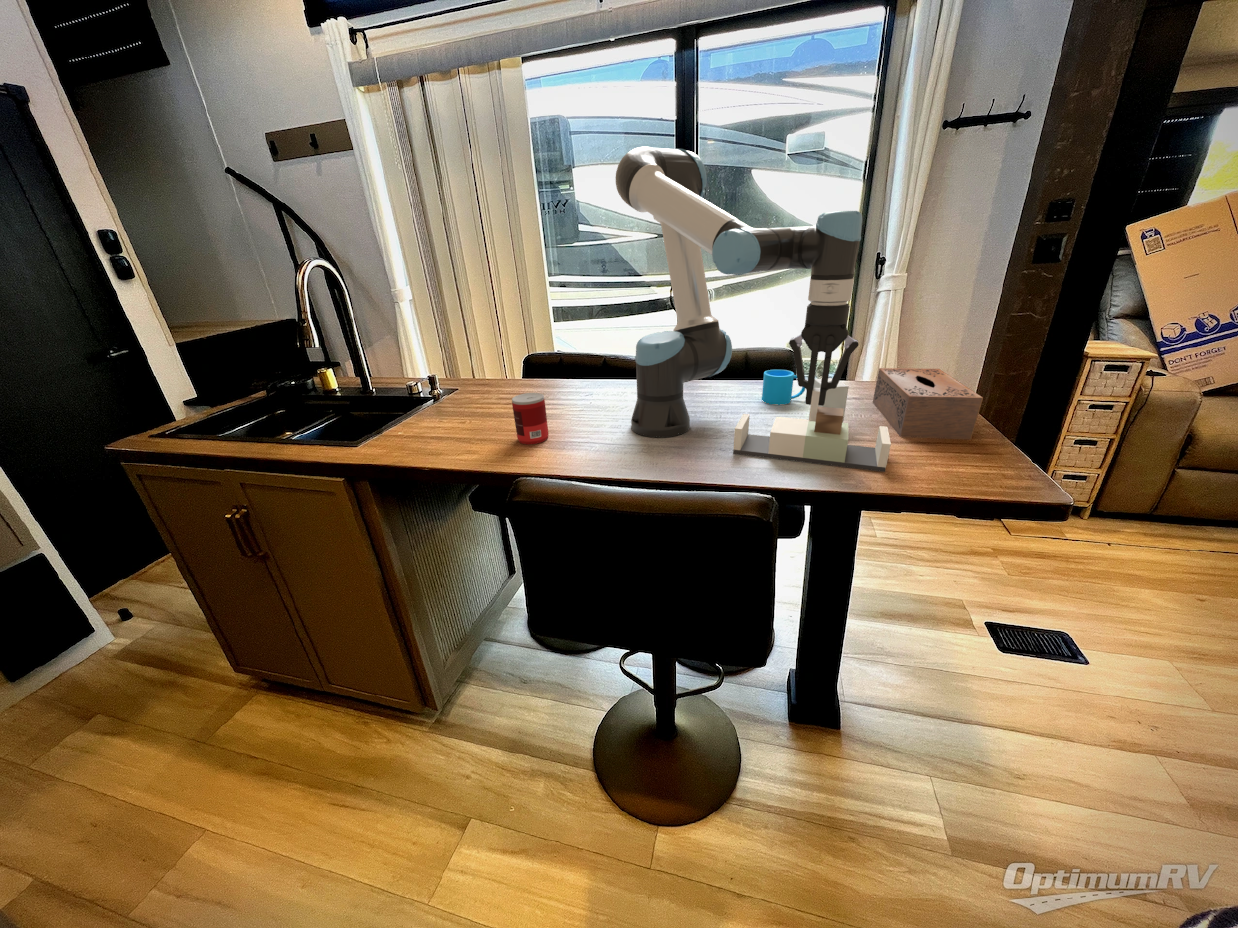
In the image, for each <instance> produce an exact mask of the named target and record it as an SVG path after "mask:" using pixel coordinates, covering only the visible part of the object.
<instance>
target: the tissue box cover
mask: <svg viewBox="0 0 1238 928" xmlns="http://www.w3.org/2000/svg"><path fill="white" fill-rule="evenodd" d="M983 399H984V397H983V396H981V395H980V394H978V393H977V392H975V391H974V390H972V389H970V388H969V387H968V386H966V385H964V384H963V383H962V382H960V381H959V380H957V379H955V378H954V377H952V376H951V375H949V374H947V373H946V372H945V371H944V370H941V369H940V368H914V367H913V368H911V367H910V368H908V367H907V368H905V367H903V368H896V367H895V368H893V367H892V368H891V367H890V368H889V367H886V368H885V367H884V368H883V367H881V368H878V373H877V379H876V382H875V388H874V393H873V399H872V404H873V405H874V406H875V407H876V408H877V410H878V411H879V412H880V414H881V415H882V416H883V417H884V419H885V420H886V421H887V423H889V425H890V427H892V428H893V430H894V431H895V433H896V434H897V435H898V436H899V437H901V438H918V439H919V438H920V439H921V438H923V439H924V438H925V439H948V440H949V439H950V440H972V437H973V433H974V431H975V427H976V424H977V420H978V416H979V413H980V410H981V406H982V405H983V404H982V403H983Z"/></svg>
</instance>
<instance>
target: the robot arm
mask: <svg viewBox="0 0 1238 928" xmlns="http://www.w3.org/2000/svg"><path fill="white" fill-rule="evenodd" d="M707 178H708V177H707V171H706V167H705V164H704V162H703V160H702V158H700V156H699V155H698V154H696V153H695V152H693V151H690V150H686V149H684V148H665V147H664V148H661V147H651V146H639V147H635V148H633V149H632V150H629V151H628V152H626V154H625V155H624V156H622V158H621V160H620V161H619V162H618V165H617V168H616V171H615V186H616V190H617V191H616V192H618V194H619V197H621V199H622V201H624V203H625V204H627V205H628V206H629V207H631V208H632V209H634V210H635V211H636V212H640V213H649V214H650V215H651V216H653V219H654V220H655V221H656V222H658V223H659V224H660V225H661V231H662V237H663V243H664V249H665V255H666V256H665V257H666V261H667V262H666V263H667V267H668V273H669V279H670V284H671V289H672V290H671V291H672V295H673V302H674V307H675V312H676V318H677V323H676V325H675V326H674V328H673V330H666V331H665V330H664V331H661V332H659V331H658V332H653V333H650V334H647V335H645V336H643V337H641V338H639V340H638V341H637V342H636V344H635V345H636V346H635V356H634V360H635V369H636V371H635V372H636V402H635V405H634V408H633V412H632V416H631V419H630V423H631V424H630V427H631V430H632V431H633V433H635V434H637V435H640V436H643V437H650V438H669V437H676V436H679V435H682V434H684V433H686V432H688V430H690V427H691V426H690V425H691V420H690V419H691V417H690V415H689V412H688V408H687V405H686V403H685V402H686V401H685V399H684V383H689V382H693V381H696V380H700V379H703V378H711V377H713V376H715V375H718V374H719V373H721V372H722V371H724V370H725V369H727V366H728V365H729V363H730V361H731V359H732V353H733V345H732V340H731V337H730V336H729V335H728V334H727V332H726V331H725V330H724V329H721V328H720V323H719V319H717V318H715V317H714V316H713V315H712V312H711V311H712V310H711V307H710V300H709V299H710V298H709V292H708V286H707V279H706V272H705V267H704V261H703V260H704V259H703V253H702V250H703V251H705V252H707V253H708V254H710V255H711V256H712V261H713V263H714V265H715V267H716V270H718V271H719V272H720V273H721V274H724V275H733V276H741V275H746V274H753V273H759V272H769V271H780V270H793V269H794V270H795V269H796V270H797V269H798V270H802V269H803V270H811V271H810V278H809V279H810V281H809V289H808V297H807V300H808V301H809V302H810V303H808V305H807V306H806V307H807V308H806V313H805V322H804V328H802V330H801V333H800V334H799V335H797V336H795V337H791V338H790V340H789V342H788V344H789V347H790V348H791V350H792V352H793V358H794V364H795V373H796V376H797V386H798V387H800V388H802V387H804V388H805V392H806V394H805V401H804V403H805V405H809V406H810V408H809V416H808V420H809V421H814V422H816V415H817V410H818V405H820V406H823V405H824V404H825V397H826V392H827V390H829V389H835V388H836V387H837V385H838V383H839V381H841V378H842V375H843V373H844V371H845V368H846V367H847V365H848V362H849V360H850V357H851V355H852V354H853V353H854V351H855V350H857V348H858V347H859V344H860V343H859V340H858V339H855V338H853V337H851V336H850V335H849V330H848V328H847V326H848V320H849V312H850V304H849V303H848V302H849V301H851V300H852V294H853V293H852V292H853V287H854V282H855V281H854V280H855V271H856V266H857V260H858V253H859V246H860V242H861V240H862V236H861V235H862V227H863V215H862V213H861V212H860V211H859V210H843V211H842V210H841V211H838V210H837V211H829V212H821V213H820V214H819V215H818V217H817V219H816V220H817V222H816V223H815V224H814V225H810V226H806V225H805V226H790V227H789V226H788V227H787V226H780V227H769V228H768V227H761V228H758V227H757V228H756V227H752V226H750V225H748V224H746V223H745V222H744V221H741V220H740V219H738V218H737V217H735V216H733V215H731V214H730V213H729V212H727V211H725V210H724V209H721V208H720V207H719V206H716V205H715V204H713V203H712V202H710V201H708V200H706V199H704V194H705V192H706V190H705V189H706V187H707V182H708V180H707ZM803 341H804V343H805V344H806V347H808V348H807V349H808V350H810V362H809V369H808V376H807V379H806V378H805V369H804V361H803V355H802V354H803V353H802V348H801V347H802V346H803ZM843 342H844V351H843V353H842V355H841V358H840V360H839V362H838V364H837V367H836V369H835V372H834V373H833V376H832V377H831V378H832V381H830V382H828V379H829V378H830V368H831V363H832V355H833V352H834V351H835V350H836V349H837V350H838V348H839V347H840V345H842V343H843ZM820 352H821V353H824V360H823V367H822V372H821V373H822V374H821V379H822V380H821V387H820V388H814V381H815V379H816V371H817V365H818V358H819V357H818V356H819V353H820Z"/></svg>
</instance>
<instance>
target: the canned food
mask: <svg viewBox="0 0 1238 928" xmlns="http://www.w3.org/2000/svg"><path fill="white" fill-rule="evenodd" d="M511 404H512V406H511V407H512V412H513V413H512V414H513V418H514V424H515V431H516V437H517V440H518V442H519V443H520V444H522V445H528V446H530V445H537V444H541V443H543V442H545V441H547V439H548V438H549V427H548V426H549V425H548V418H547V417H548V416H547V410H546V401H545V396H544V394H543V393H540V392H526V393H519V394H518V395H515V396H513V397H512V398H511Z"/></svg>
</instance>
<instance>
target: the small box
mask: <svg viewBox="0 0 1238 928" xmlns="http://www.w3.org/2000/svg"><path fill="white" fill-rule="evenodd" d="M832 378H833V377H831V378H830V377H828V382H830V381H832ZM821 380H822V378H815V381H814V388H820V387H821ZM849 388H850V387H849V386H848V385H847V384H845V383H844V382H842V381H841V380H839V383H838V385H837V387H836V388H835V389H829V390H827V392H826V397H825V404H824V405H823V406H820V405H818V407H830V408H843V409H844V412H843V421H842V423H844V419H845V415H846V414H845V413H846V406H847V399H848V394H849V393H848V392H849Z"/></svg>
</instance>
